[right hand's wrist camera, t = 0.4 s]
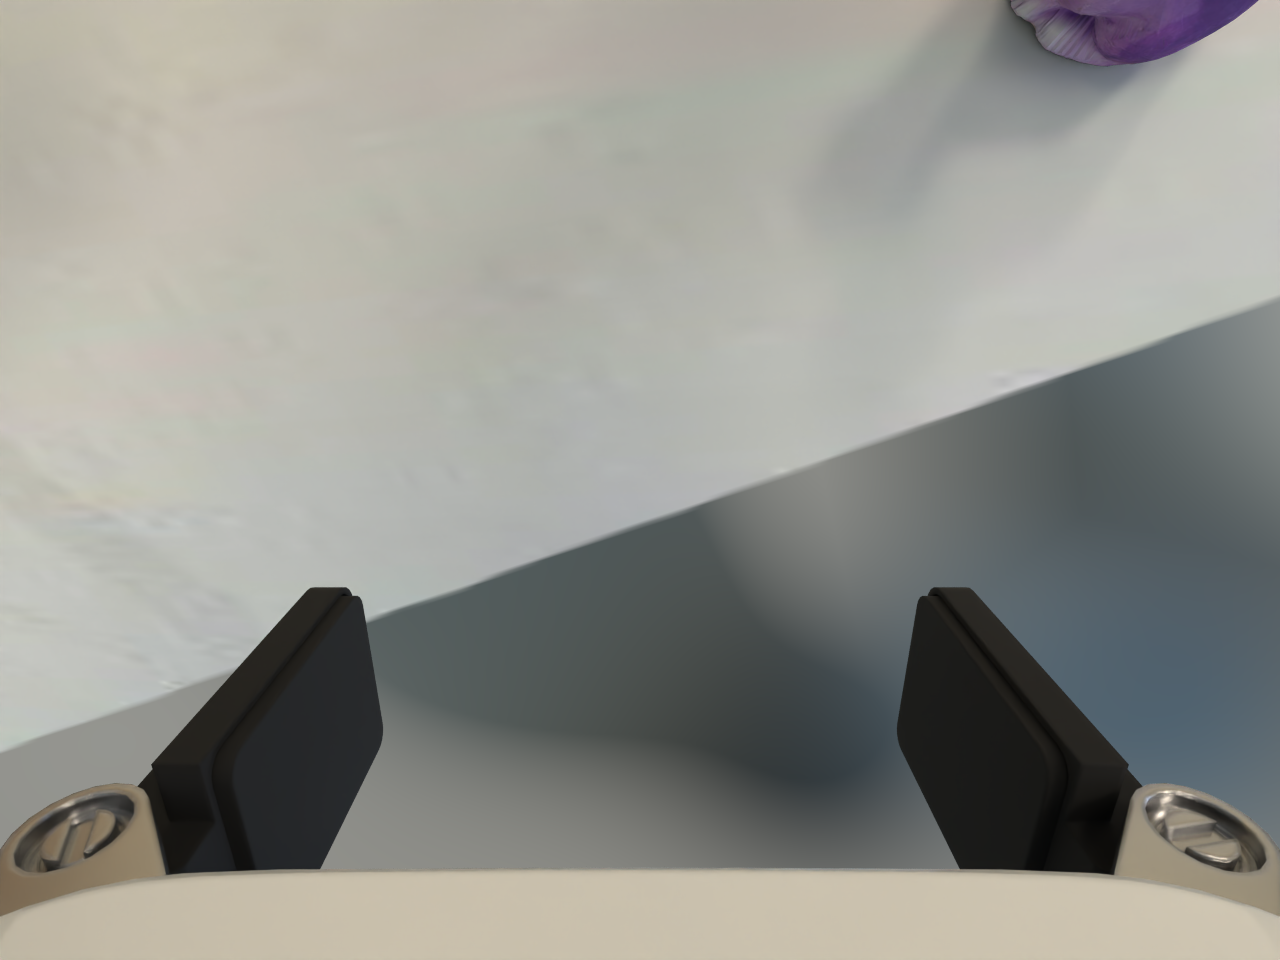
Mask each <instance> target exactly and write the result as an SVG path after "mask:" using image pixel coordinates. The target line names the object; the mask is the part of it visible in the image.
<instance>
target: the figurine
mask: <svg viewBox="0 0 1280 960" xmlns="http://www.w3.org/2000/svg"><path fill="white" fill-rule="evenodd" d="M1257 1H1258V0H1011V7H1012V9H1013V10H1014V12H1015V13H1016V15H1018V16H1020V17H1022V18H1023V19H1024V20H1026V21H1028V22H1031V23H1032V24H1033V26H1034V28H1035V31H1036V37H1037V40H1038V41H1039V42H1040V43H1041V45H1042V46H1043V47H1044V48H1045V49H1046V50H1049V51H1051V52H1052V53H1054V54H1057V55H1060V56H1064V57H1065V58H1070V59H1073V60H1075V61H1078V62H1081V63H1088V64H1092V65H1098V66H1110V65H1122V64H1135V63H1142V62H1147V61H1152V60H1156V59H1159V58H1162V57H1165V56H1168V55H1170V54H1173V53H1175V52H1177V51H1179V50H1181V49H1183V48H1185V47H1187V46H1189V45H1191V44H1193V43H1195V42H1197V41H1199V40H1201V39H1203V38H1204V37H1206V36H1208V35H1210V34H1212V33H1213V32H1215V31H1217V30H1219V29H1220V28H1222V27H1223V26H1225V25H1226V24H1228V23H1230V22H1231V21H1233V20H1234V19H1236V18H1237V17H1238V16H1240V15H1241V14H1242V13H1244V12H1245V11H1246V10H1248V9H1249V8H1250V7H1251V6H1252V5H1254V4H1255V3H1256V2H1257Z"/></svg>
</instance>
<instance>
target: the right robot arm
mask: <svg viewBox="0 0 1280 960" xmlns="http://www.w3.org/2000/svg"><path fill="white" fill-rule="evenodd" d="M382 736H383V723H382V717H381V711H380V705H379V699H378V693H377V687H376V681H375V675H374V669H373V663H372V657H371V651H370V645H369V639H368V633H367V627H366V621H365V615H364V609H363V604H362V600H361V599H360V597H358V596H352V594H351V592H350V590H349V589H348V588H346V587H314V588H310V589H309V590H307V591H306V592H305V593H304V595H303V596H302V597H301V598H300V599H299V600H298V601H297V602H296V603H295V605H294V606H293V607H292V608H291V609H290V610H289V611H288V612H287V614H286V615H285V616H284V617H283V618H282V619H281V620H280V621H279V622H278V624H277V625H276V626H275V627H274V628H273V629H272V630H271V631H270V633H269V634H268V635H267V636H266V637H265V638H264V639H263V640H262V641H261V643H260V644H259V645H258V646H257V647H256V648H255V649H254V650H253V652H252V653H251V654H250V655H249V656H248V657H247V658H246V659H245V660H244V662H243V663H242V664H241V665H240V666H239V667H238V668H237V669H236V670H235V672H234V673H233V674H232V675H231V676H230V677H229V678H228V679H227V681H226V682H225V683H224V684H223V685H222V686H221V687H220V688H219V690H218V691H217V692H216V693H215V694H214V695H213V696H212V697H211V698H210V700H209V701H208V702H207V703H206V704H205V705H204V706H203V707H202V709H201V710H200V711H199V712H198V713H197V714H196V715H195V716H194V717H193V719H192V720H191V721H190V722H189V723H188V724H187V725H186V726H185V727H184V729H183V730H182V731H181V732H180V733H179V734H178V735H177V736H176V738H175V739H174V740H173V741H172V742H171V743H170V744H169V745H168V746H167V748H166V749H165V750H164V751H163V752H162V753H161V754H160V755H159V757H158V758H157V759H156V760H155V761H154V762H153V763H152V764H151V765H152V768H153V769H152V771H151V772H150V773H149V774H148V775H147V776H146V777H145V778H144V780H143V781H142V782H141V783H140V784H139V785H138V786H135V785H132V784H120V783H113V784H107V785H100V786H95V787H92V788H88V789H85V790H82V791H79V792H76V793H73V794H71V795H69V796H67V797H65V798H63V799H61V800H58V801H56V802H54V803H52V804H50V805H49V806H47V807H46V808H44V809H43V810H41V811H39V812H38V813H36V814H35V815H33V816H32V817H30V818H29V819H28V820H27V821H26V822H24V823H23V824H22V825H21V826H20V827H19V828H18V829H17V830H15V831H14V832H13V833H12V834H11V835H10V837H9V838H8V839H7V841H6V842H5V844H4V845H3V846H2V848H1V849H0V960H1280V849H1279V848H1278V846H1277V845H1276V844H1275V842H1274V841H1273V839H1272V838H1271V837H1270V835H1269V834H1268V833H1267V832H1266V831H1265V830H1263V829H1262V828H1261V827H1260V826H1259V825H1258V824H1257V823H1256V822H1254V821H1253V820H1252V819H1251V818H1250V817H1248V816H1247V815H1245V814H1244V813H1242V812H1241V811H1239V810H1237V809H1236V808H1234V807H1233V806H1231V805H1230V804H1228V803H1226V802H1224V801H1222V800H1219V799H1217V798H1215V797H1213V796H1211V795H1209V794H1207V793H1204V792H1201V791H1198V790H1195V789H1191V788H1188V787H1185V786H1180V785H1173V784H1167V783H1160V784H1148V785H1146V786H1142V785H1141V784H1140V783H1139V782H1138V781H1137V780H1136V778H1135V777H1134V776H1133V775H1132V774H1131V773H1130V772H1129V771H1128V769H1127V768H1128V763H1127V762H1126V761H1125V760H1124V759H1123V758H1122V757H1121V755H1120V754H1119V753H1118V752H1117V751H1116V750H1115V749H1114V748H1113V746H1112V745H1111V744H1110V743H1109V742H1108V741H1107V740H1106V739H1105V738H1104V736H1103V735H1102V734H1101V733H1100V732H1099V731H1098V730H1097V729H1096V727H1095V726H1094V725H1093V724H1092V723H1091V722H1090V721H1089V720H1088V719H1087V717H1086V716H1085V715H1084V714H1083V713H1082V712H1081V711H1080V710H1079V708H1078V707H1077V706H1076V705H1075V704H1074V703H1073V702H1072V701H1071V700H1070V698H1069V697H1068V696H1067V695H1066V694H1065V693H1064V692H1063V691H1062V689H1061V688H1060V687H1059V686H1058V685H1057V684H1056V683H1055V682H1054V681H1053V679H1052V678H1051V677H1050V676H1049V675H1048V674H1047V673H1046V672H1045V671H1044V669H1043V668H1042V667H1041V666H1040V665H1039V664H1038V663H1037V662H1036V660H1035V659H1034V658H1033V657H1032V656H1031V655H1030V654H1029V653H1028V652H1027V650H1026V649H1025V648H1024V647H1023V646H1022V645H1021V644H1020V643H1019V641H1018V640H1017V639H1016V638H1015V637H1014V636H1013V635H1012V634H1011V633H1010V631H1009V630H1008V629H1007V628H1006V627H1005V626H1004V625H1003V624H1002V622H1001V621H1000V620H999V619H998V618H997V617H996V616H995V615H994V614H993V612H992V611H991V610H990V609H989V608H988V607H987V606H986V605H985V604H984V602H983V601H982V600H981V599H980V598H979V597H978V596H977V595H976V593H975V592H974V591H973V590H971V589H970V588H966V587H934V588H932V589H931V590H930V592H929V594H928V596H922V597H920V599H919V600H918V604H917V609H916V615H915V621H914V627H913V633H912V639H911V645H910V651H909V657H908V663H907V669H906V675H905V681H904V687H903V693H902V699H901V705H900V711H899V717H898V723H897V736H898V741H899V745H900V748H901V750H902V752H903V754H904V756H905V758H906V760H907V762H908V765H909V767H910V769H911V771H912V773H913V775H914V777H915V779H916V781H917V783H918V785H919V787H920V789H921V791H922V793H923V795H924V797H925V799H926V801H927V803H928V805H929V807H930V809H931V811H932V813H933V815H934V817H935V819H936V822H937V824H938V826H939V828H940V830H941V832H942V834H943V836H944V838H945V840H946V842H947V844H948V846H949V848H950V850H951V852H952V854H953V856H954V858H955V860H956V862H957V864H958V866H959V868H960V869H824V868H821V869H820V868H456V869H320V868H321V866H322V864H323V862H324V860H325V858H326V856H327V854H328V852H329V850H330V848H331V846H332V844H333V842H334V840H335V838H336V836H337V834H338V832H339V830H340V828H341V826H342V824H343V822H344V819H345V817H346V815H347V813H348V811H349V809H350V807H351V805H352V803H353V801H354V799H355V797H356V795H357V793H358V791H359V789H360V787H361V785H362V783H363V781H364V779H365V777H366V775H367V773H368V771H369V769H370V766H371V765H372V763H373V760H374V758H375V756H376V754H377V752H378V750H379V748H380V745H381V741H382Z"/></svg>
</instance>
